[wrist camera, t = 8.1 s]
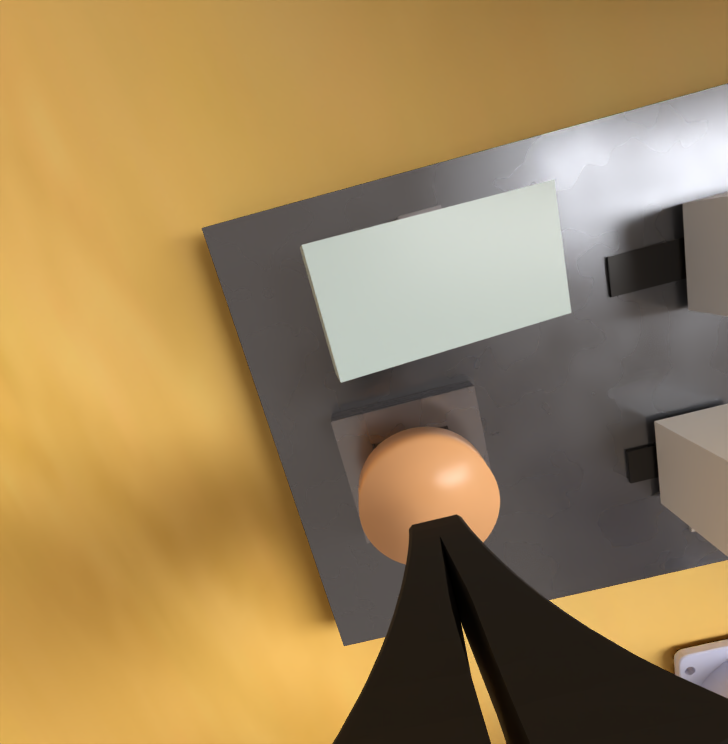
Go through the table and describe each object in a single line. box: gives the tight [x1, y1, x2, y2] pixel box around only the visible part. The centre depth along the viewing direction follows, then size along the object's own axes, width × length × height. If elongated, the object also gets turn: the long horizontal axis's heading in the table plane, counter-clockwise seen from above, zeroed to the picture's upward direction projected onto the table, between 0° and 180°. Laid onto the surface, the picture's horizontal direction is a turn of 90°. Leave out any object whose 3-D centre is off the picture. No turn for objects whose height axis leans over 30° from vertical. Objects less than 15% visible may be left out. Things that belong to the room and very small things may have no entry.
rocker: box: [300, 180, 571, 383], centre depth 13 cm, size 4×8×1 cm, turn 105°
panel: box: [202, 84, 728, 646], centre depth 16 cm, size 18×30×2 cm, turn 104°
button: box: [358, 427, 500, 565], centre depth 14 cm, size 4×4×2 cm
